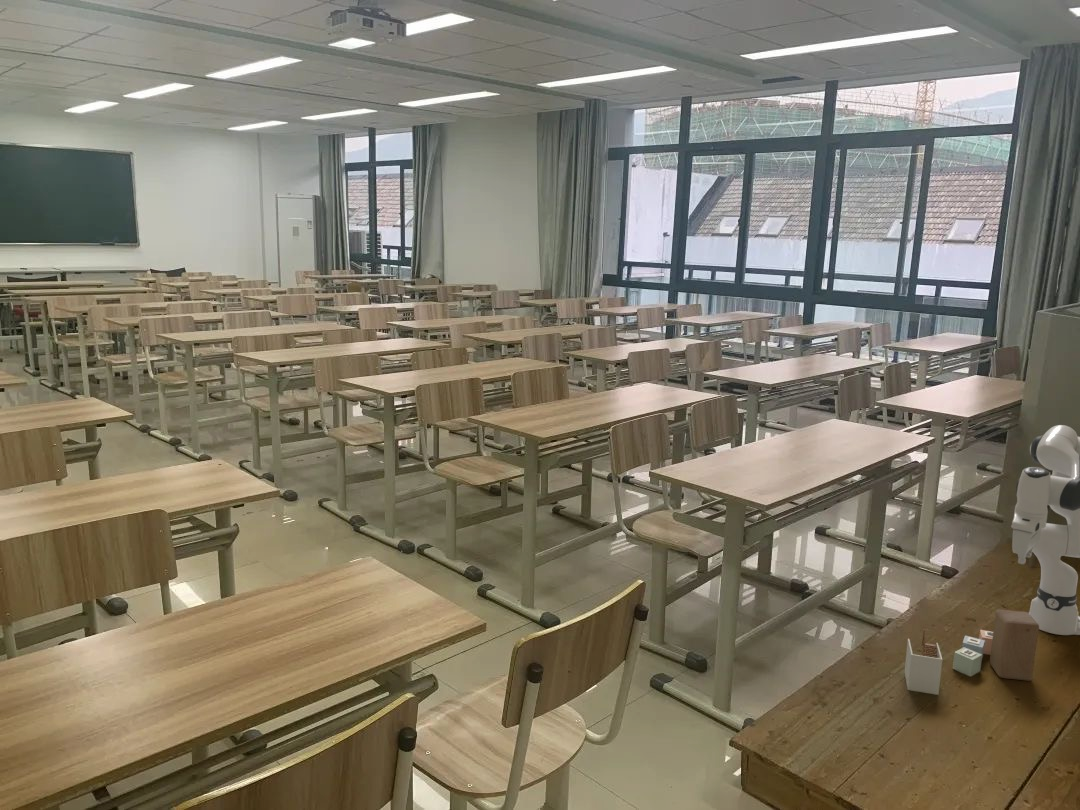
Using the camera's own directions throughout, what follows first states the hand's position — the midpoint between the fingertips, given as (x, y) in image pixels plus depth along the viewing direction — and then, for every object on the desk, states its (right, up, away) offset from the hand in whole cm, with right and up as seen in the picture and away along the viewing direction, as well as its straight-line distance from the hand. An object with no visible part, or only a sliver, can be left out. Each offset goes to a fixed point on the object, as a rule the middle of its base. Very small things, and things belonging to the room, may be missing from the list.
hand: (1024, 560), depth 251 cm
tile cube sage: (-14, -38, +9) cm, 42 cm away
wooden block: (0, -39, +8) cm, 40 cm away
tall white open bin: (-33, -41, +1) cm, 52 cm away
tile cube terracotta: (+1, -36, +22) cm, 42 cm away
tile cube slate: (-7, -37, +17) cm, 41 cm away
